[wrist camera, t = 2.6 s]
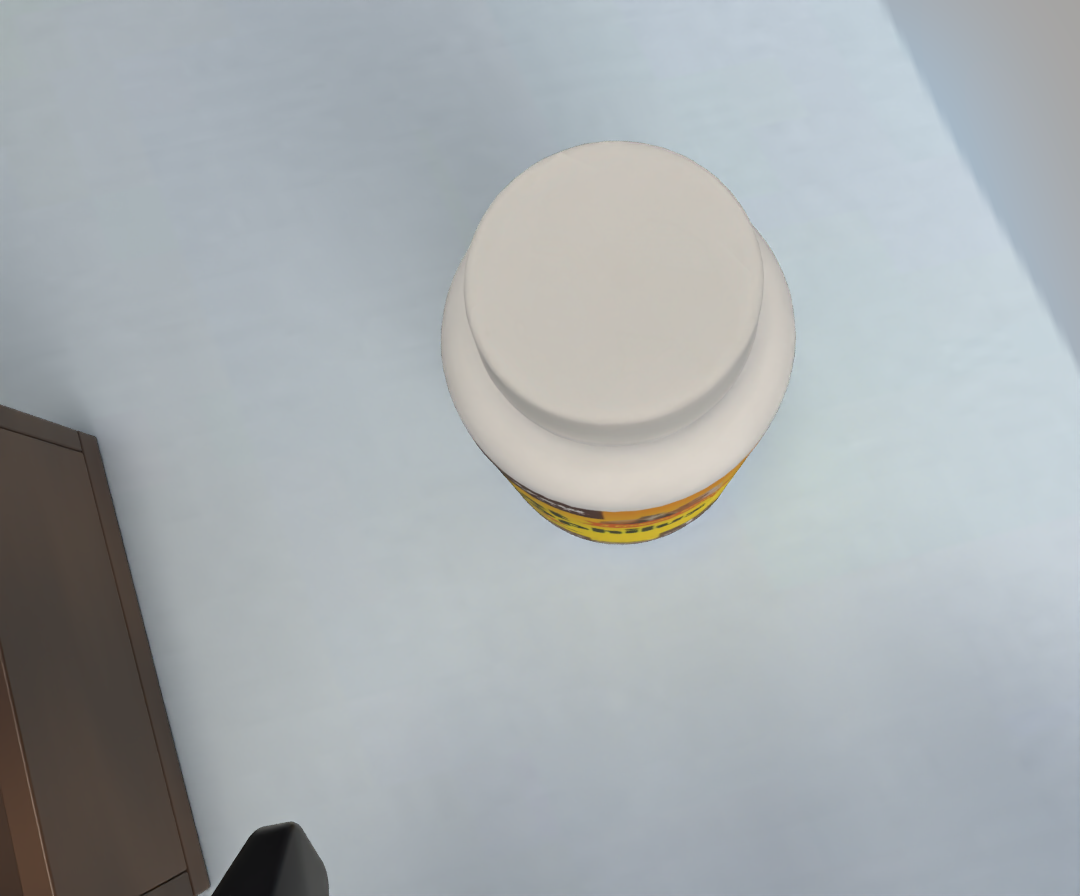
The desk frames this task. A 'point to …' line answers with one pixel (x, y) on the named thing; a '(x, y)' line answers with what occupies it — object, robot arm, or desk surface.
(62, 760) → the desk tray
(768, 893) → the desk surface
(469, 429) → the supplement bottle
